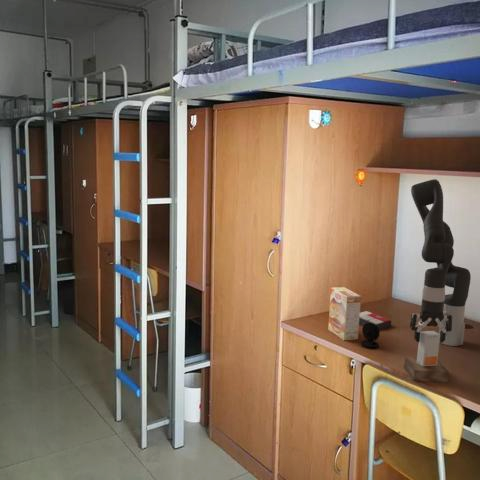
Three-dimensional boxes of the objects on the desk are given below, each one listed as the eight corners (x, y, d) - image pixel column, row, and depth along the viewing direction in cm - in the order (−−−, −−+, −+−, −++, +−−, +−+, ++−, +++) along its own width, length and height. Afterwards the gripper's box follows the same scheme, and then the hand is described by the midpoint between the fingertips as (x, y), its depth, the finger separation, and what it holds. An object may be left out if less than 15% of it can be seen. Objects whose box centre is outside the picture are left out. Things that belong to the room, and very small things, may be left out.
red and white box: (377, 323, 246) (351, 313, 258) (375, 332, 247) (350, 321, 259) (392, 319, 253) (366, 309, 265) (391, 328, 254) (365, 318, 266)
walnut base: (435, 368, 205) (437, 358, 205) (447, 382, 194) (448, 371, 193) (403, 367, 206) (404, 357, 205) (413, 380, 194) (414, 370, 193)
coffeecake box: (327, 329, 246) (330, 287, 243) (341, 328, 248) (344, 286, 245) (343, 340, 232) (346, 296, 229) (358, 339, 234) (361, 295, 231)
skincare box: (422, 367, 196) (425, 335, 194) (416, 362, 200) (419, 331, 198) (437, 366, 198) (440, 334, 196) (430, 361, 202) (433, 330, 200)
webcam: (382, 346, 227) (384, 323, 225) (372, 350, 222) (374, 327, 220) (366, 341, 233) (368, 318, 231) (356, 345, 228) (358, 322, 226)
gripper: (449, 295, 198) (445, 338, 201) (410, 294, 198) (406, 337, 201) (457, 301, 191) (452, 346, 194) (416, 300, 191) (412, 344, 194)
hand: (429, 341), depth 197 cm, fingers open, 8 cm apart
